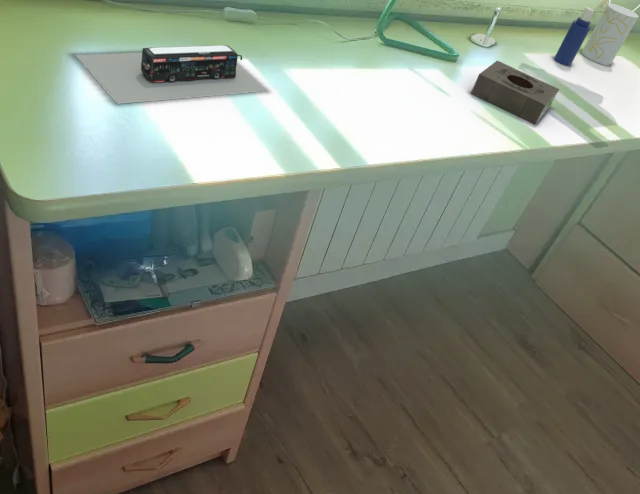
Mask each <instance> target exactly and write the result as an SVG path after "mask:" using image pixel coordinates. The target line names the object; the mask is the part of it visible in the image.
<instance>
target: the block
mask: <svg viewBox="0 0 640 494" xmlns="http://www.w3.org/2000/svg"><path fill="white" fill-rule="evenodd" d="M559 91H560V88H558V87H556V86H555V85H552V84H549V83H548V82H545V81H543V80H541V79H539V78H537V77H534V76H532V75H530V74H527V73H526V72H523V71H521V70H519V69H517V68H514V67H513V66H510V65H508V64H506V63H504V62H502V61H500V60H496V61H494V62H493V63H492V64H491V65H489V66H487V68H485V69H484V70H482V71H481V72H479V74H478V76H477V78H476V81H475V82H474V85H473V88H472V90H471V92H470V93H471V94H472V95H474V96H475V97H478V98H480V99H482V100H484V101H486V102H488V103H490V104H492V105H494V106H496V107H498V108H500V109H502V110H504V111H507V112H509V113H511V114H513V115H515V116H517V117H519V118H521V119H523V120H525V121H528V122H530V123H531V124H534V125H537V123H538V122H539V120H541V118H543V116H544V115H545V113H546V112H547V111H548V110H549V109H550V107H551V106H552V104H553V102H554V101H555V98H556V96H557V95H558V93H559Z"/></svg>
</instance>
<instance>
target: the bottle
mask: <svg viewBox="0 0 640 494" xmlns="http://www.w3.org/2000/svg"><path fill="white" fill-rule="evenodd" d="M594 13H595V10H594V8H591V7H588V6H586V7H584V9H583V12H582V14H581V16H578V17H577V18H576V20H573V21H572V23H571V25H570V26H569V28H568V31H567V32H566V34H565V37H564V38H563V40H562V41H561V44H560V46H559V48H558V49H557V52H556V54H555V56H554V57H553V60H555V62H557V63H559V64H561V65H564V66H571V65H572V64H573V62H574V61H575V58H576V57H577V54H578V52H579V51H580V49H581V47H582V46H583V43H584V41H585V39H586V38H587V36H588V34H589V32H590V30H591V28H592V27H591V26H590V25H591V19H592V17H593V15H594Z"/></svg>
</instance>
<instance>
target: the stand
mask: <svg viewBox="0 0 640 494" xmlns="http://www.w3.org/2000/svg"><path fill="white" fill-rule="evenodd" d="M501 12H502V7H501V6H496V7H495V9H494V11H493V14H492V16H491V19H490V21H489V23H488V26H487V28H486V31H485V32H484V33H475V34H473V35H471V36H470V41H471V42H472V43H474V44H476V45H478V46H481V47H486V48H488V47H492V46H494V45H495V44H496V40H495V38H493V37H492V36H491V35H492V33H493V31H494V28H495V26H496V24H497V22H498V19H499V17H500V15H501Z"/></svg>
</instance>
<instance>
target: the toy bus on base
mask: <svg viewBox="0 0 640 494" xmlns="http://www.w3.org/2000/svg"><path fill="white" fill-rule="evenodd" d="M141 51H142V52H120V53H119V52H118V53H95V54H94V53H91V54H75V57H76V58H77V59H78V60H79V61H80V62H81V63H82V65H83V66H84V68H85V69H87V71H88V72H89V73H90V74H91V76H92V77H94V79H95V80H96V81H97V82H98V83H99V85H100V86H101V87H102V88H103V89H104V90H105V92H107V94H108V95H109V96H110V97H111V99H112V100H113V101H114V103H116V104H117V105H119V104H120V105H121V104H132V103H142V102H143V103H144V102H156V101H166V100H178V99H189V98H190V99H191V98H200V97H212V96H225V95H235V94H247V93H259V92H266V91H267V90H266V89H265V88H264V87H262V85H260V84H259V83H258V82H257V81H256V80H254V78H252V77H251V76H250V75H249V74H248V73H247V72H246V71H245V70H244V69H242V68H241V66H240V65H238V58H239V57H240V58H239V59H240V61H242V60H243V55H242V54H239V53H237V52H236V51H235V50H234V49H233V48H232V47H230V46H229V45H227V44H225V45H224V44H217V45H216V44H211V45H208V44H207V45H179V46H177V45H176V46H175V45H174V46H151V47H142V50H141Z"/></svg>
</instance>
